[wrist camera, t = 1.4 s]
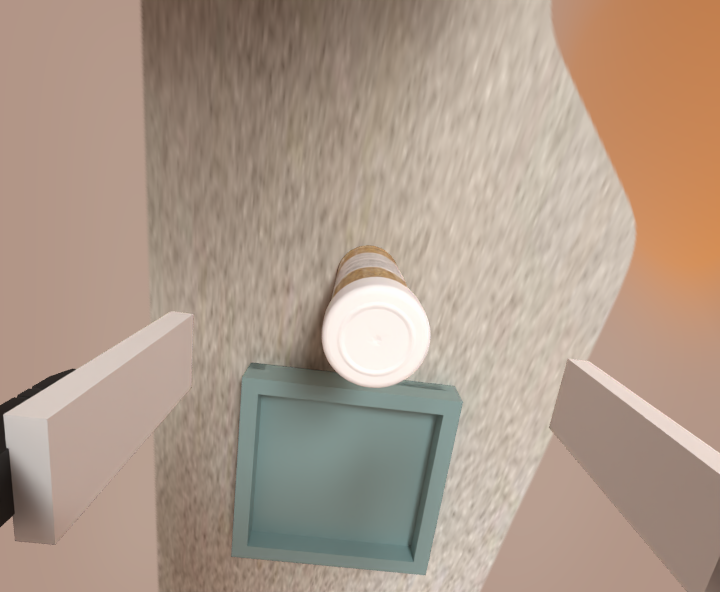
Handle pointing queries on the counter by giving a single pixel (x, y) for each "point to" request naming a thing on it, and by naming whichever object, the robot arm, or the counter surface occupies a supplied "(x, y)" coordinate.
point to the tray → (340, 469)
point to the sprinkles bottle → (374, 321)
